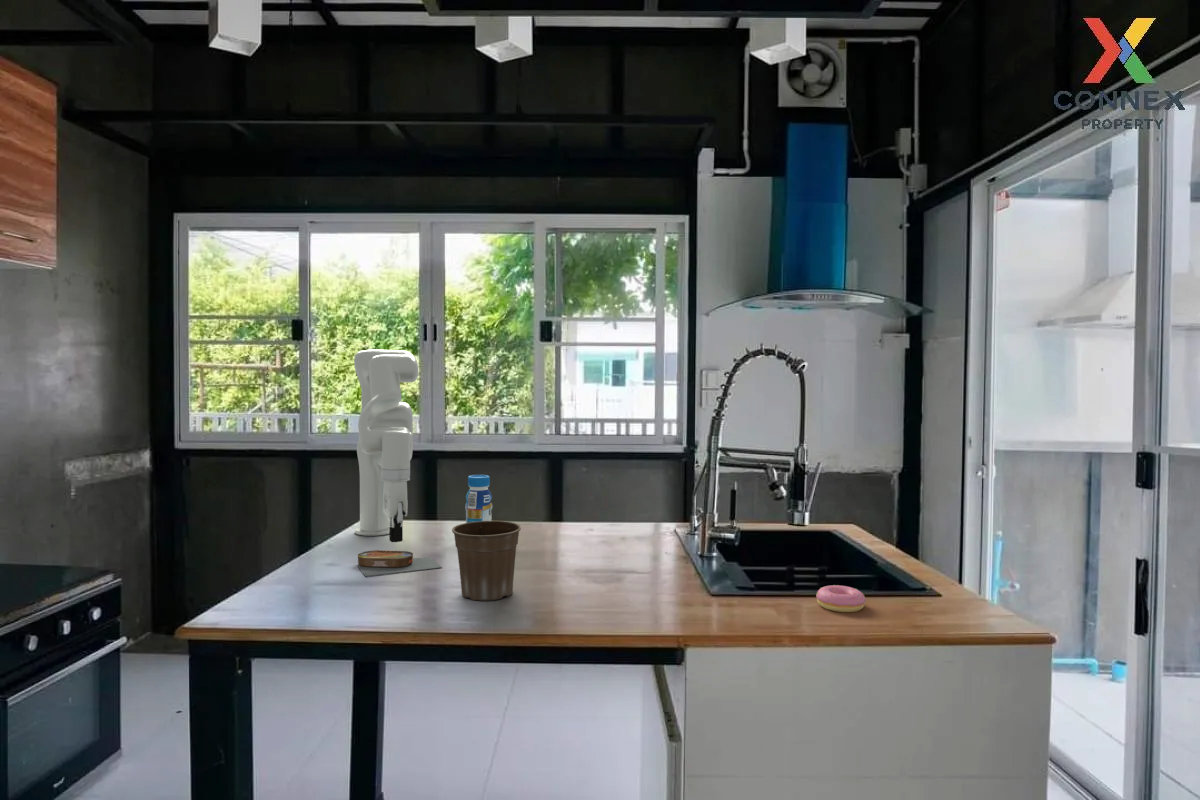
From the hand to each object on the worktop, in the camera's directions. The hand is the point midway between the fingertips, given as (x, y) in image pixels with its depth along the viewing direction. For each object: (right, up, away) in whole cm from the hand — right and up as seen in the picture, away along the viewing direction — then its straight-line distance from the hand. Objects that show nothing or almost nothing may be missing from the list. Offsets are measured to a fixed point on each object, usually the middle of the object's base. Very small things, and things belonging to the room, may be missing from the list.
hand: (396, 541), depth 207 cm
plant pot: (+29, -8, -26) cm, 40 cm away
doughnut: (+112, -9, -32) cm, 117 cm away
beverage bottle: (+18, -5, +30) cm, 36 cm away
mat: (+2, -6, -3) cm, 7 cm away
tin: (-2, -5, +3) cm, 6 cm away
